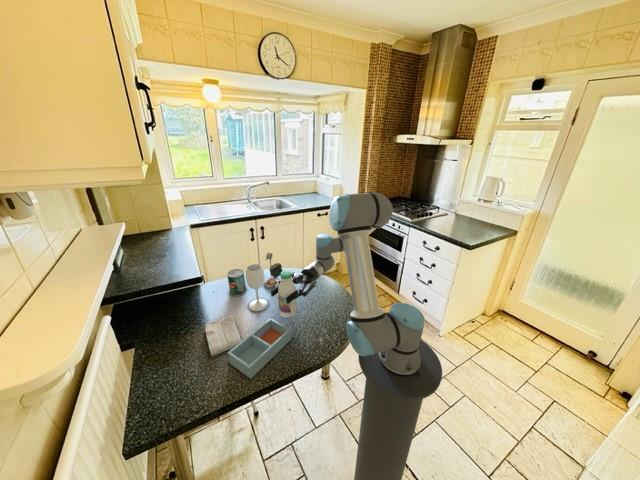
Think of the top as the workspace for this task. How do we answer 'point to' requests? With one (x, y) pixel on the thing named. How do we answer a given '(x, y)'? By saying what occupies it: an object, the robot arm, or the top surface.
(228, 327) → the washcloth
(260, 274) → the wineglass
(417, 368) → the robot arm
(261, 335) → the divided tray
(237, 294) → the canned tomato
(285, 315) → the milk bottle
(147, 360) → the top surface
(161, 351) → the top surface
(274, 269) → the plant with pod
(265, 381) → the top surface
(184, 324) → the top surface
